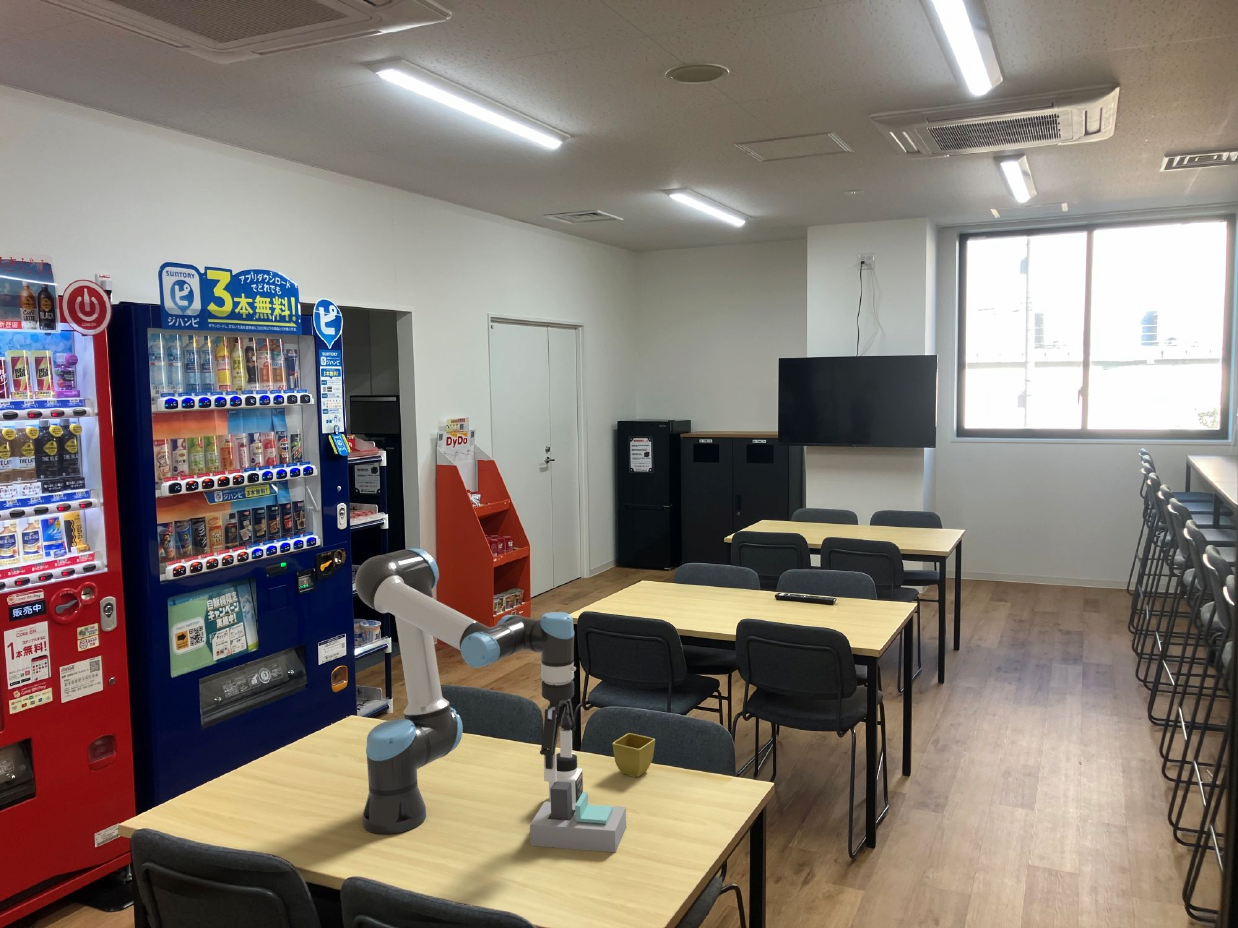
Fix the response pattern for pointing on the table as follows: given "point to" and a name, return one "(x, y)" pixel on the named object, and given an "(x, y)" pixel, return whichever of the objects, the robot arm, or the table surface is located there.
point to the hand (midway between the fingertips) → (558, 768)
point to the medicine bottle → (569, 775)
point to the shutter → (591, 811)
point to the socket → (577, 831)
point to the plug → (561, 801)
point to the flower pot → (633, 754)
